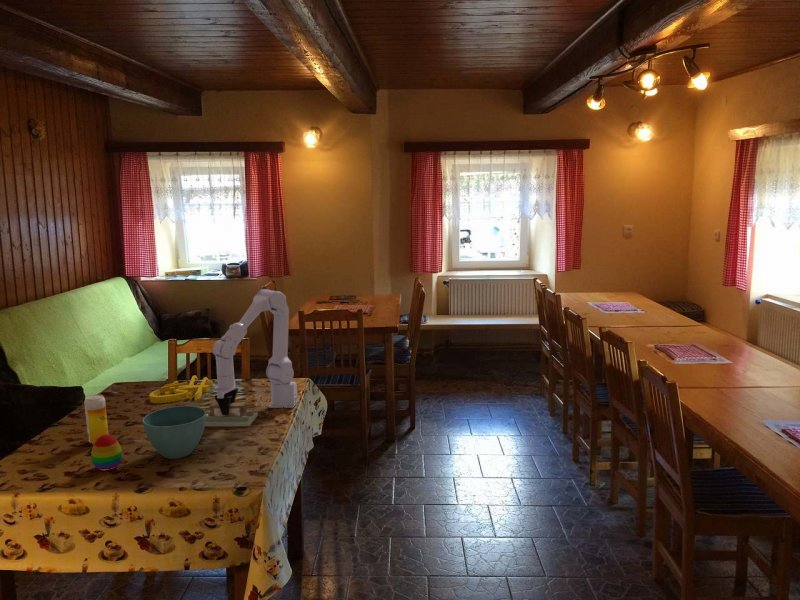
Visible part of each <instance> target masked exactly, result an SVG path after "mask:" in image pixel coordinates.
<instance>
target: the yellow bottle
mask: <svg viewBox="0 0 800 600" xmlns="http://www.w3.org/2000/svg"><path fill="white" fill-rule="evenodd" d="M83 403H84V412H85V413H84V414H85V422H86V424H85V425H86V432H87V439H88V440H87V441H88V442H89V443H90V444H91V443H92V444H91V445H94V443H95V442H96V440H97V439H98V438H99V437H100V436H102V435H105V434H107V435H109V424H108V416H107V405H106V398H105V397H104V395H103V394H94V395H93V394H92V395H88V396H86V397H85V399H84V402H83Z"/></svg>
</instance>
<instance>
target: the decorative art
mask: <svg viewBox="0 0 800 600" xmlns="http://www.w3.org/2000/svg"><path fill="white" fill-rule="evenodd" d="M191 380H192V381H191ZM194 380H198V381H199V379H198V377H197V374H196V375H195V374H194V375H192V376H191V379H190V381H189V383H188V381H186V382H181V383H179V381H177V380H176V381H172V383H169V384H163V386H161V387H160V388H159V389H158V388H157V389H154V391H152V392H150V393H149V402H150V403H151V404H167V402H168V403H173V402H179V401H184V400H186V399H188V400H192V399H193V398H194V401H197V399H198V400H199V399H201V397H202V395H203V394H204V393H205V392H207V391H209V390H210V391H211V387H210V385H212V384H213V381H214V380H209V378H208V377H207V376H205V377H203V378H202V380H201V382H198V383H197V384H196V383H195V385H194V382H195V381H194ZM203 380H206V381H203ZM210 391H209V392H210ZM161 393H162V395H161ZM172 393H175V394H172ZM207 393H208V392H207ZM205 394H206V393H205ZM158 395H159V396H158Z"/></svg>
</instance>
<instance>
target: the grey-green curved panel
mask: <svg viewBox="0 0 800 600" xmlns="http://www.w3.org/2000/svg"><path fill="white" fill-rule="evenodd" d="M258 416H259V414H258V412H254V410H250V409H249V410H248V409H247V416H210V410H208V411H207V414H206V421H205V427H250V426H251V425H252V424H253V422H254V421H255V420H256V418H257V417H258Z"/></svg>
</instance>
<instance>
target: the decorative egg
mask: <svg viewBox="0 0 800 600" xmlns="http://www.w3.org/2000/svg"><path fill="white" fill-rule="evenodd" d="M92 445H93V446H92V447H91V455H90V457H91V462H92V464H93V466H94V468H95V469H97V470H98V469H111V468H114V467H116V468H118V467H119V465H120V463H121V462H122V459H123V458H122V457H123V451H122V447H121V445H120V443H119V441H118V440H117V439H116V437H114V436H113V435H111V434H108V435H107V434H105V435H102V436H100V437H99V438H98V439H97V440H96V442H95V443H94V444H92ZM117 466H118V467H117Z"/></svg>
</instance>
